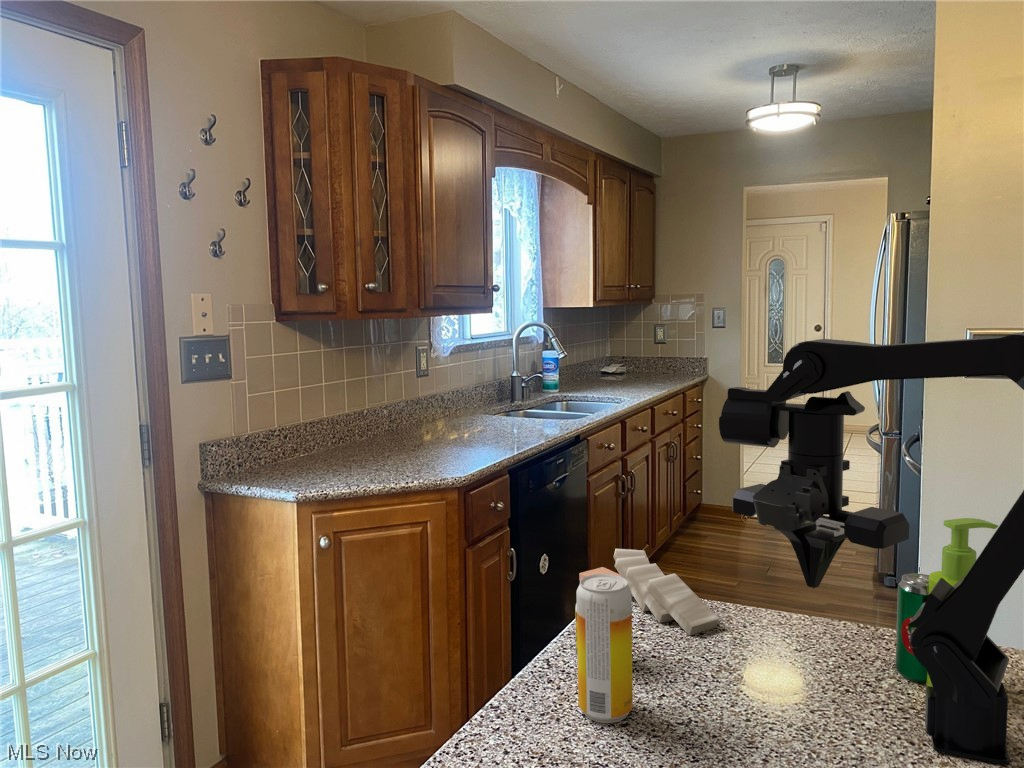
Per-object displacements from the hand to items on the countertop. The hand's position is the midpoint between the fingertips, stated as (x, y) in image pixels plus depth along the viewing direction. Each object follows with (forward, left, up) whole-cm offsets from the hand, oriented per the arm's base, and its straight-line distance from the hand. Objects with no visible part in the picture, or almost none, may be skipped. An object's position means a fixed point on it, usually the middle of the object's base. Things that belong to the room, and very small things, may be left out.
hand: (813, 586), depth 85 cm
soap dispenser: (-16, -8, -13) cm, 22 cm away
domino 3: (+22, -18, -12) cm, 31 cm away
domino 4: (+19, -15, -12) cm, 27 cm away
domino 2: (+25, -21, -12) cm, 35 cm away
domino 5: (+15, -13, -12) cm, 23 cm away
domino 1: (+28, -22, -13) cm, 38 cm away
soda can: (-12, -10, -13) cm, 20 cm away
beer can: (+21, +12, -13) cm, 28 cm away
